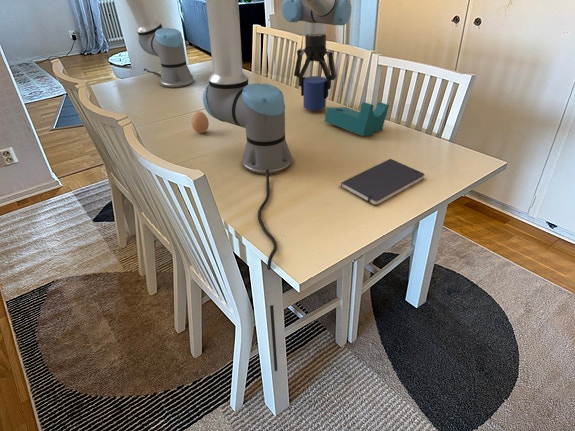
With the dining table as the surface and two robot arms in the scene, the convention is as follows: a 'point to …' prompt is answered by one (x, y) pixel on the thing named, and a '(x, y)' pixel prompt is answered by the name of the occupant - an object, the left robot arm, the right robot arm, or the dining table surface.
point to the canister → (314, 93)
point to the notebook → (382, 181)
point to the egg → (199, 122)
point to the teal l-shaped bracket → (358, 118)
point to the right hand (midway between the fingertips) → (314, 95)
